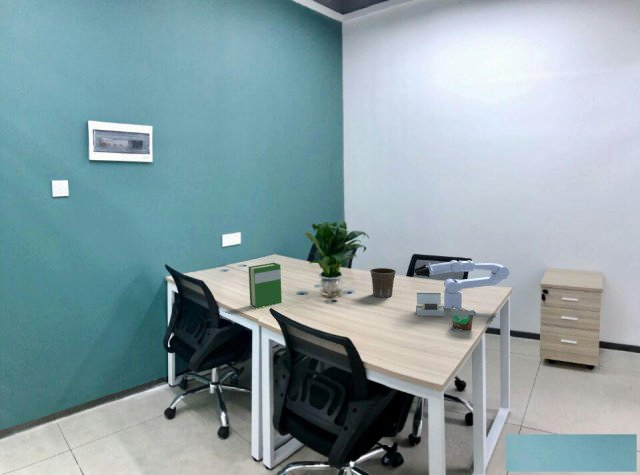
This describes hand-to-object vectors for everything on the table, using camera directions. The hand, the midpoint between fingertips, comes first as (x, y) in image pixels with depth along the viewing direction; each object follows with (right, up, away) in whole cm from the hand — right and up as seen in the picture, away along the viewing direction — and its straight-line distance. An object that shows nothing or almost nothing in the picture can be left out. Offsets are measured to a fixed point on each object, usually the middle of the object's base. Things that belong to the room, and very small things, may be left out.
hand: (415, 272), depth 236 cm
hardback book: (-88, -21, +14) cm, 91 cm away
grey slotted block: (+6, -22, -9) cm, 25 cm away
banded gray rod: (+5, -17, -14) cm, 23 cm away
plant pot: (-14, -17, +27) cm, 35 cm away
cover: (+6, -14, -7) cm, 17 cm away
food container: (+14, -25, -32) cm, 43 cm away
